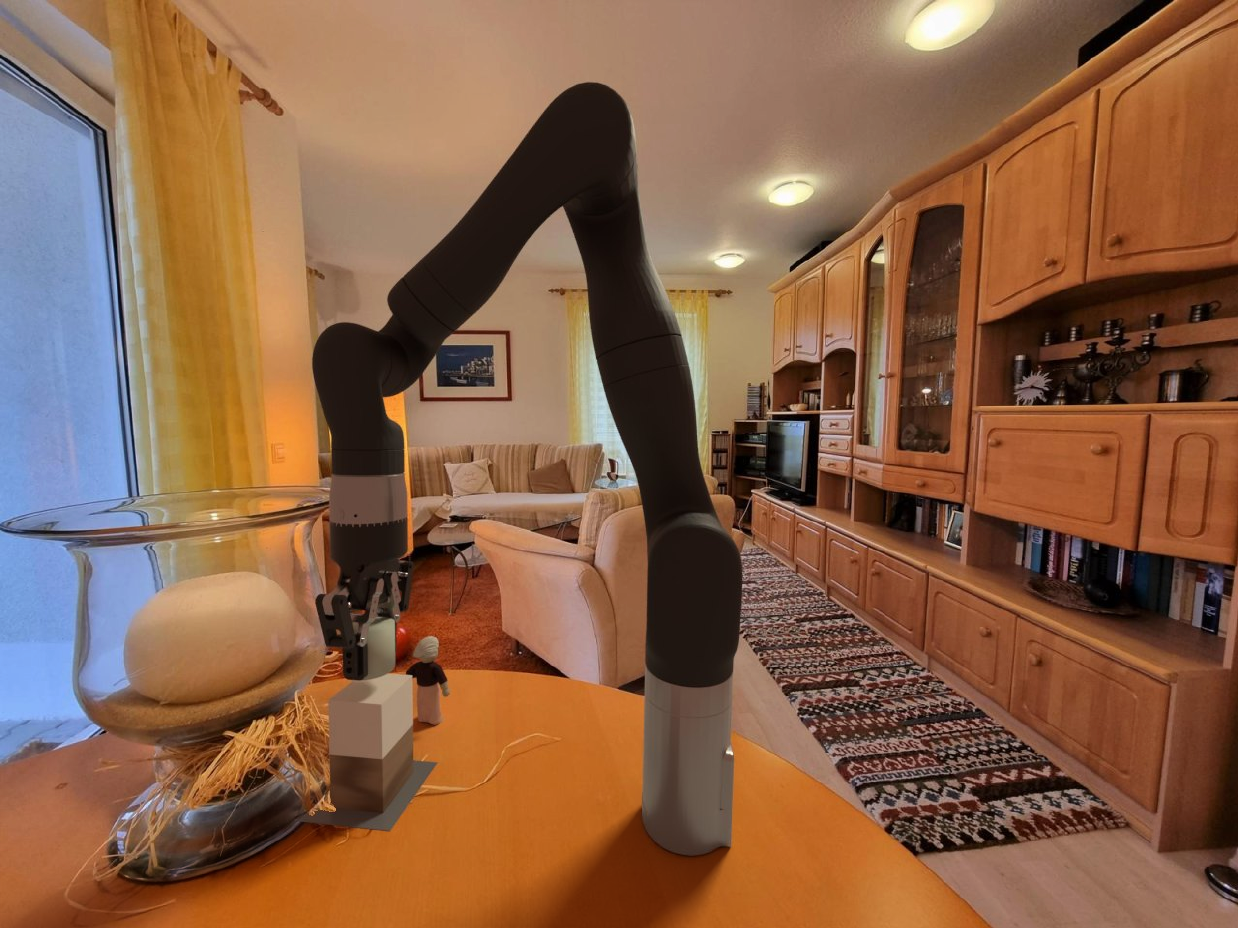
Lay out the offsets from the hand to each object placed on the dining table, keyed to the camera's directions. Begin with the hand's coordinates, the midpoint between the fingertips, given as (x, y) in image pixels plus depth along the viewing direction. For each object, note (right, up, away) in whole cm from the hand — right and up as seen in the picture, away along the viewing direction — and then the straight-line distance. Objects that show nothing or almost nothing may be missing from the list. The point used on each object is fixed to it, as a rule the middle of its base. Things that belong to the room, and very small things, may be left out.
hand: (372, 665), depth 52 cm
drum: (0, 0, 0) cm, 0 cm away
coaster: (0, -15, +1) cm, 15 cm away
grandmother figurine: (0, -15, +14) cm, 20 cm away
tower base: (0, -14, +1) cm, 15 cm away
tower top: (0, -9, +1) cm, 9 cm away
